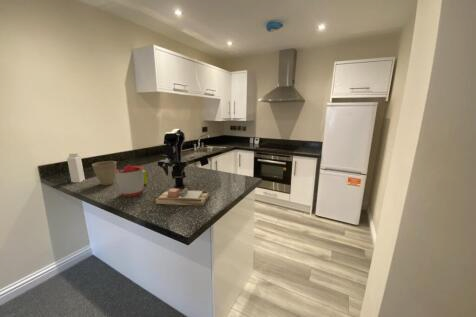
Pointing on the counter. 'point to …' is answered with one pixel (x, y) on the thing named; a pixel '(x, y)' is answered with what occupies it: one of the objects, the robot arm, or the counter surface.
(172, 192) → the block
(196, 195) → the slide cover
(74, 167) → the milk
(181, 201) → the puzzle board
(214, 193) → the counter surface
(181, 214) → the counter surface
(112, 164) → the plant pot
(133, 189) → the citrus juicer
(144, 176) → the puzzle toy
